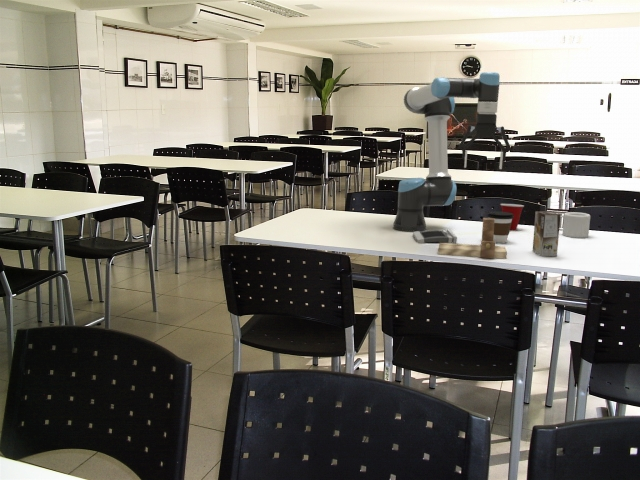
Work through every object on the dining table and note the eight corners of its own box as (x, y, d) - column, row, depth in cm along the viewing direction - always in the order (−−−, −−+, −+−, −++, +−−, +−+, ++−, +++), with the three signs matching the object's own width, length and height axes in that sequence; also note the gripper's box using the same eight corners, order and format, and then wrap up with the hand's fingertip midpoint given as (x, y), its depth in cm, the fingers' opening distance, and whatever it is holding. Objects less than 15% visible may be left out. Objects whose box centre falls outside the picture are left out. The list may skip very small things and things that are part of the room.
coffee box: (557, 256, 233) (561, 214, 230) (541, 256, 233) (545, 214, 229) (547, 251, 242) (550, 210, 239) (531, 251, 242) (534, 210, 238)
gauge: (480, 258, 227) (482, 222, 224) (479, 250, 241) (481, 216, 238) (494, 259, 226) (496, 222, 223) (492, 250, 240) (494, 216, 237)
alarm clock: (457, 237, 253) (417, 233, 253) (455, 248, 254) (416, 244, 254) (449, 229, 269) (412, 225, 270) (448, 239, 270) (411, 236, 271)
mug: (588, 235, 277) (590, 213, 275) (587, 239, 267) (590, 216, 265) (556, 232, 282) (558, 210, 280) (554, 236, 273) (556, 214, 271)
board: (438, 254, 233) (438, 247, 233) (439, 248, 243) (439, 242, 243) (506, 258, 228) (506, 251, 228) (504, 252, 238) (505, 246, 237)
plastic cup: (523, 228, 290) (526, 203, 288) (520, 232, 281) (522, 206, 279) (500, 226, 295) (502, 201, 293) (496, 229, 286) (498, 204, 283)
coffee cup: (497, 244, 253) (500, 216, 250) (479, 239, 262) (481, 212, 260) (517, 242, 258) (519, 214, 255) (499, 237, 267) (501, 210, 265)
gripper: (454, 112, 238) (450, 167, 242) (521, 114, 232) (516, 170, 237) (454, 112, 245) (450, 165, 249) (519, 114, 239) (514, 168, 244)
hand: (482, 168), depth 243 cm, fingers open, 13 cm apart
